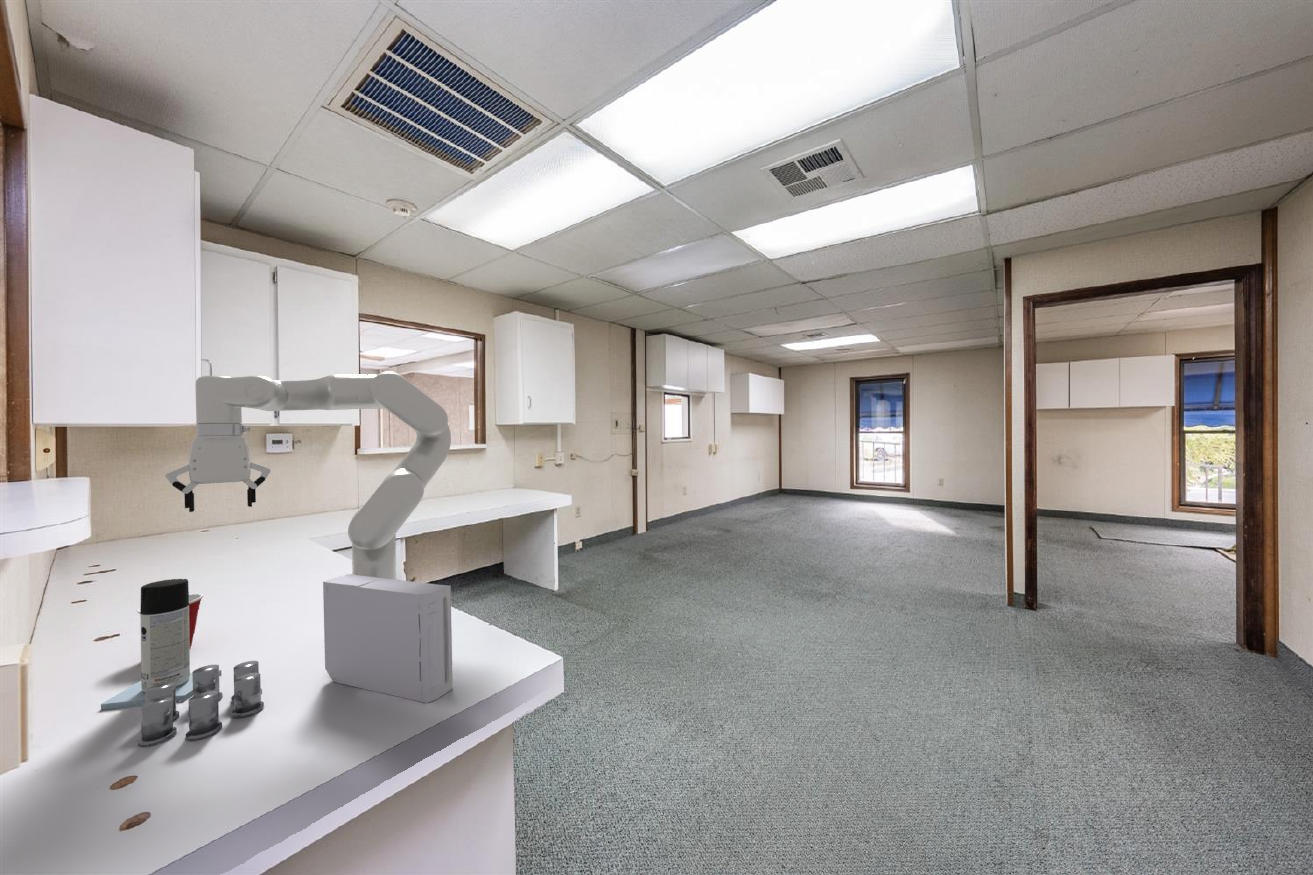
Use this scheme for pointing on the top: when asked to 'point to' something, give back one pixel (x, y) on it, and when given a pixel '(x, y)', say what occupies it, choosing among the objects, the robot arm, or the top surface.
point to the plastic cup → (191, 613)
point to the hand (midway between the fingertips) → (221, 508)
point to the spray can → (165, 633)
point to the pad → (137, 697)
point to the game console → (389, 636)
